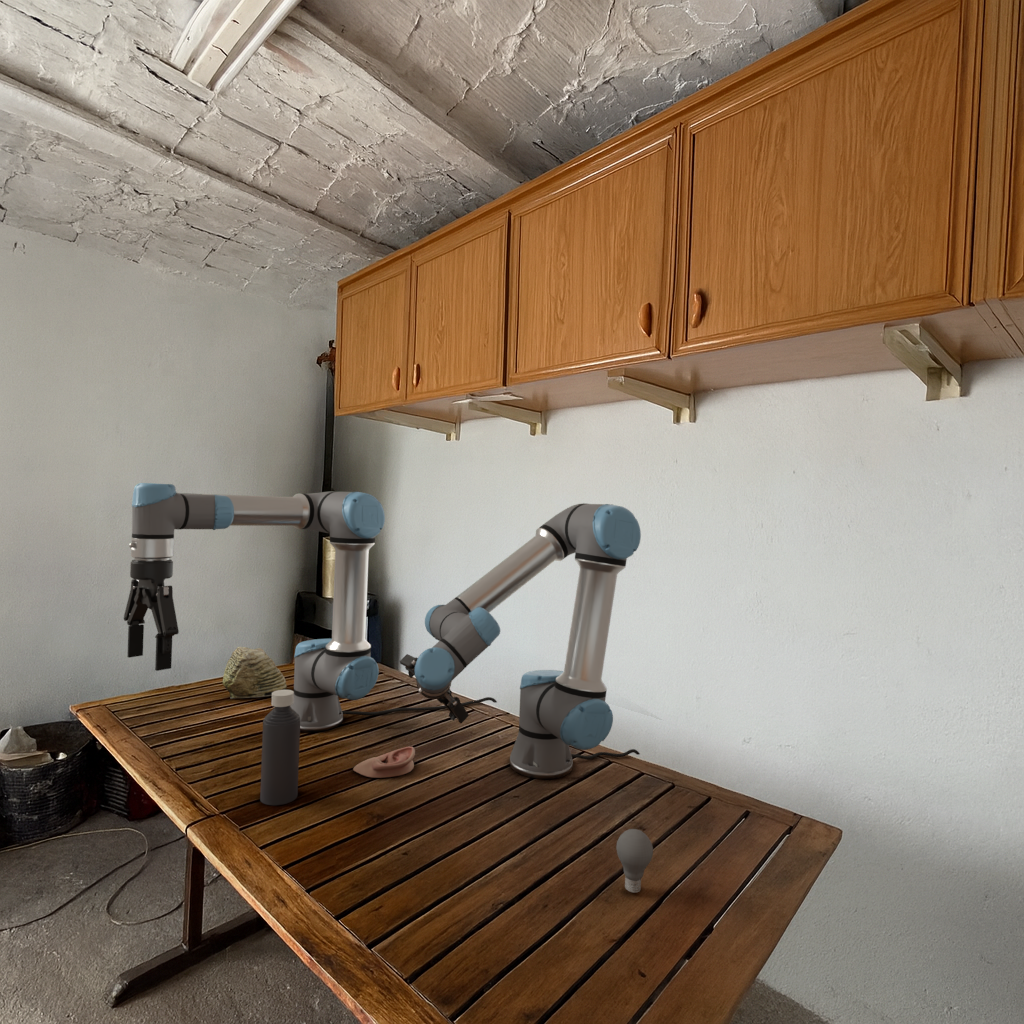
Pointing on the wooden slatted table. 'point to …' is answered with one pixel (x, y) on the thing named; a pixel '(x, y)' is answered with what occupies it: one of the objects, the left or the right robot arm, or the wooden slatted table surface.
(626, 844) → the light bulb
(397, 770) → the anatomical model
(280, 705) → the cap
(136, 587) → the left robot arm
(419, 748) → the wooden slatted table surface
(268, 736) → the bottle
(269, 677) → the fossil
